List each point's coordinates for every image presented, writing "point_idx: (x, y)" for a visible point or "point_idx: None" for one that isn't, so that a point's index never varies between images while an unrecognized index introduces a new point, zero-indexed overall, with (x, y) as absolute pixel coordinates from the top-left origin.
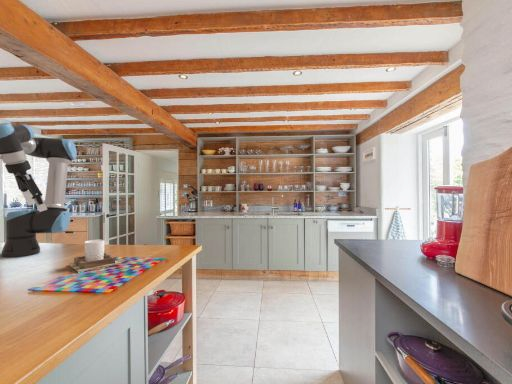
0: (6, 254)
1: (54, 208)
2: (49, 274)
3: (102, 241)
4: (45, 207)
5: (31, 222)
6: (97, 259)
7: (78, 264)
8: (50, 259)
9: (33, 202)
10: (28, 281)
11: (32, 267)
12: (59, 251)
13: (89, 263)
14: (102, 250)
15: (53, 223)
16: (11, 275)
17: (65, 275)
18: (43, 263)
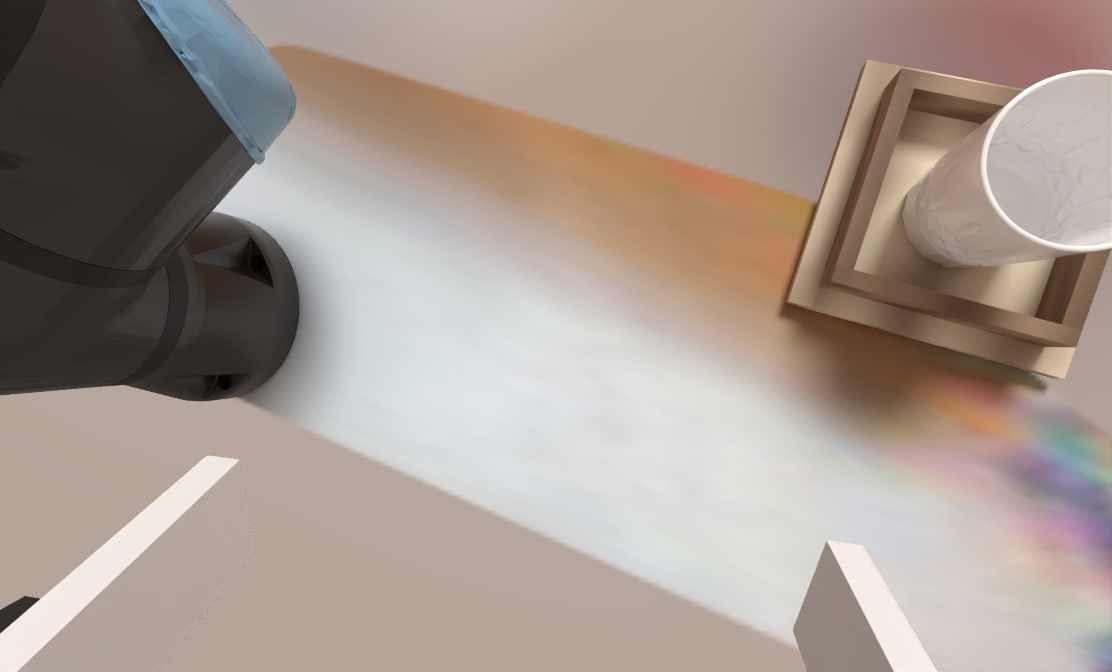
0: (233, 395)
1: (9, 15)
2: (892, 471)
3: (1073, 85)
4: (883, 601)
5: (93, 272)
6: (1052, 217)
7: (954, 319)
8: (517, 288)
9: (222, 506)
10: (932, 598)
11: (624, 436)
12: (345, 152)
13: (1085, 299)
14: (1105, 155)
15: (233, 135)
16: (703, 574)
17: (1016, 440)
18: (583, 358)
